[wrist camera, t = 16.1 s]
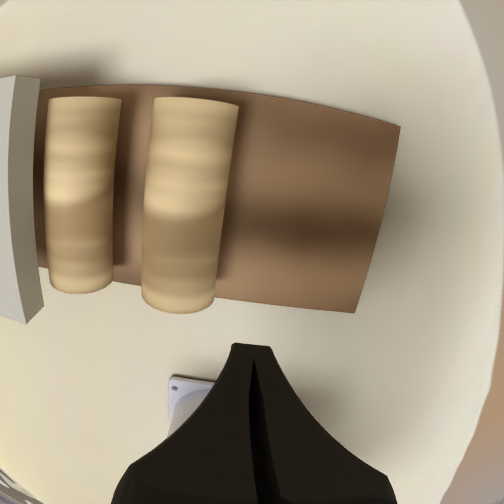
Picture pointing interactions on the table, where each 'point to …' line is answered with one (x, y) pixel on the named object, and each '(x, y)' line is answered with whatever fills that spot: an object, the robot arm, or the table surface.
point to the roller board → (266, 194)
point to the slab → (18, 200)
